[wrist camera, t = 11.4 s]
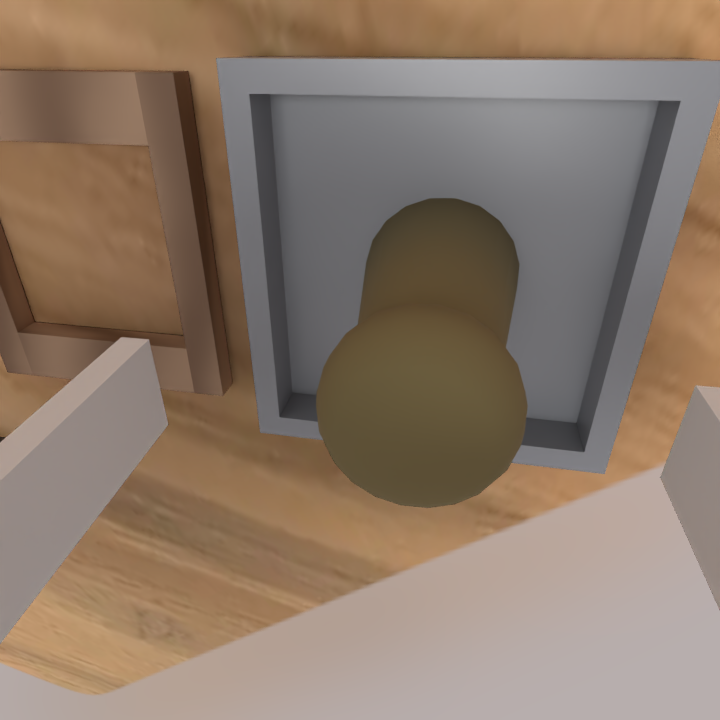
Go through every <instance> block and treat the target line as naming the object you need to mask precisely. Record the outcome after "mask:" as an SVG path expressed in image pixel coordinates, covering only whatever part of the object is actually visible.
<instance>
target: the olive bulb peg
mask: <svg viewBox="0 0 720 720" xmlns="http://www.w3.org/2000/svg"><path fill="white" fill-rule="evenodd" d="M518 274H519V260H518V256H517V252H516V248H515V244H514V241H513V239H512V238H511V236H510V235H509V233H508V232H507V230H506V229H505V228H504V226H503V225H502V223H501V222H500V221H499V220H498V219H497V218H495V217H494V216H493V215H491V214H490V213H489V212H487V211H486V210H485V209H483V208H482V207H481V206H478V205H475V204H472V203H469V202H466V201H463V200H460V199H457V198H429V199H426V200H423V201H420V202H417V203H414V204H411V205H408V206H405V207H404V208H403V209H401V210H400V211H399V212H397V213H396V214H395V215H393V216H392V217H391V218H389V219H388V220H387V221H386V222H385V223H384V224H383V226H382V227H381V229H380V230H379V232H378V233H377V235H376V236H375V237H374V239H373V240H372V244H371V247H370V251H369V254H368V258H367V261H366V268H365V275H364V282H363V290H362V297H361V304H360V312H359V319H358V325H357V326H355V327H354V328H352V329H351V330H350V331H348V332H347V333H346V334H345V335H344V337H343V338H342V339H341V341H340V342H339V343H338V345H337V346H336V347H335V349H334V350H333V351H332V353H331V354H330V356H329V357H328V359H327V361H326V363H325V365H324V367H323V371H322V375H321V378H320V382H319V386H318V389H317V395H316V409H317V418H318V427H319V433H320V435H321V437H322V439H323V441H324V443H325V445H326V447H327V449H328V451H329V453H330V455H331V457H332V459H333V461H334V462H335V464H336V465H337V466H338V467H339V468H340V470H341V471H342V472H343V473H344V474H345V475H346V476H347V477H348V478H349V479H350V480H351V481H352V482H353V483H354V484H356V485H357V486H359V487H361V488H362V489H364V490H365V491H367V492H369V493H370V494H372V495H373V496H375V497H378V498H381V499H384V500H387V501H390V502H393V503H396V504H399V505H404V506H414V507H424V508H431V507H438V506H445V505H453V504H456V503H459V502H461V501H464V500H466V499H468V498H471V497H473V496H476V495H478V494H480V493H481V492H482V491H483V490H484V489H485V488H487V487H488V486H489V485H490V484H491V483H493V482H494V481H495V480H496V479H497V478H498V477H500V476H501V475H502V474H503V473H504V472H505V471H506V470H507V469H508V468H509V466H510V464H511V462H512V461H513V459H514V457H515V455H516V454H517V452H518V450H519V448H520V446H521V443H522V440H523V436H524V433H525V424H526V416H527V408H528V404H527V398H526V392H525V388H524V385H523V381H522V378H521V374H520V370H519V367H518V364H517V363H516V361H515V360H514V358H513V357H512V356H511V354H510V353H509V352H508V350H507V349H506V344H507V339H508V334H509V328H510V323H511V318H512V312H513V307H514V302H515V296H516V291H517V284H518Z"/></svg>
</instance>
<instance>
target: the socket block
mask: <svg viewBox="0 0 720 720" xmlns="http://www.w3.org/2000/svg"><path fill="white" fill-rule="evenodd" d="M0 141H25V142H55V143H85V144H115V145H145V146H148V147H149V153H150V158H151V163H152V169H153V174H154V179H155V185H156V190H157V195H158V201H159V206H160V211H161V217H162V222H163V227H164V233H165V238H166V243H167V249H168V254H169V259H170V265H171V270H172V276H173V281H174V286H175V292H176V297H177V302H178V308H179V313H180V318H181V324H182V329H183V334H184V336H180V335H170V334H159V333H148V332H137V331H127V330H116V329H105V328H94V327H84V326H73V325H62V324H51V323H40V322H34V319H33V317H32V314H31V311H30V308H29V305H28V302H27V299H26V296H25V293H24V290H23V287H22V284H21V281H20V278H19V276H18V273H17V270H16V267H15V264H14V261H13V258H12V255H11V252H10V249H9V246H8V243H7V240H6V237H5V235H4V232H3V229H2V226H1V223H0V354H1V356H2V359H3V362H4V364H5V367H6V369H7V372H9V373H18V374H27V375H37V376H46V377H55V378H64V379H74V378H75V377H76V376H77V375H78V374H80V373H81V372H82V371H83V370H84V369H85V368H86V367H88V366H89V365H90V364H91V363H92V362H93V361H94V360H96V359H97V358H98V357H99V356H100V355H101V354H103V353H104V352H105V351H106V350H107V349H108V348H109V347H111V346H112V345H113V344H114V343H115V342H116V341H117V340H119V339H120V338H121V337H126V338H138V339H149V342H150V347H151V351H152V355H153V360H154V364H155V368H156V373H157V377H158V382H159V386H160V389H163V390H172V391H182V392H191V393H200V394H209V395H218V396H223V395H224V394H225V393H226V391H227V390H228V389H229V387H230V386H231V384H232V376H231V369H230V362H229V355H228V348H227V341H226V334H225V327H224V320H223V313H222V306H221V299H220V292H219V285H218V278H217V271H216V264H215V257H214V250H213V243H212V236H211V229H210V222H209V215H208V208H207V201H206V194H205V187H204V180H203V173H202V166H201V159H200V151H199V144H198V137H197V130H196V123H195V116H194V109H193V102H192V95H191V88H190V81H189V74H188V71H117V70H15V69H0Z"/></svg>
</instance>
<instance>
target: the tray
mask: <svg viewBox="0 0 720 720" xmlns="http://www.w3.org/2000/svg"><path fill="white" fill-rule="evenodd" d="M216 62H217V70H218V79H219V87H220V96H221V104H222V113H223V121H224V130H225V138H226V147H227V155H228V164H229V172H230V181H231V189H232V198H233V206H234V215H235V223H236V232H237V240H238V249H239V257H240V266H241V274H242V283H243V291H244V300H245V308H246V317H247V325H248V334H249V342H250V351H251V359H252V367H253V376H254V384H255V393H256V401H257V410H258V418H259V427H260V433H268V434H277V435H285V436H293V437H301V438H310V439H318V440H323V439H322V437H321V435H320V433H319V427H318V418H317V409H316V395H317V389H318V386H319V382H320V378H321V375H322V371H323V367H324V365H325V363H326V361H327V359H328V357H329V356H330V354H331V353H332V351H333V350H334V349H335V347H336V346H337V345H338V343H339V342H340V341H341V339H342V338H343V337H344V335H345V334H346V333H347V332H348V331H350V330H351V329H352V328H354V327H355V326H357V325H358V319H359V312H360V304H361V297H362V290H363V282H364V275H365V268H366V261H367V258H368V254H369V251H370V247H371V244H372V240H373V239H374V237H375V236H376V235H377V233H378V232H379V230H380V229H381V227H382V226H383V224H384V223H385V222H386V221H387V220H388V219H389V218H391V217H392V216H393V215H395V214H396V213H397V212H399V211H400V210H401V209H403V208H404V207H405V206H408V205H411V204H414V203H417V202H420V201H423V200H426V199H429V198H457V199H460V200H463V201H466V202H469V203H472V204H475V205H478V206H481V207H482V208H483V209H485V210H486V211H487V212H489V213H490V214H491V215H493V216H494V217H495V218H497V219H498V220H499V221H500V222H501V223H502V225H503V226H504V228H505V229H506V230H507V232H508V233H509V235H510V236H511V238H512V239H513V241H514V244H515V248H516V252H517V256H518V260H519V274H518V284H517V291H516V296H515V302H514V307H513V312H512V318H511V323H510V328H509V334H508V339H507V344H506V349H507V350H508V352H509V353H510V354H511V356H512V357H513V358H514V360H515V361H516V363H517V364H518V367H519V370H520V374H521V378H522V381H523V385H524V388H525V392H526V398H527V404H528V408H527V416H526V424H525V433H524V436H523V440H522V443H521V446H520V448H519V450H518V452H517V454H516V455H515V457H514V459H513V461H512V462H511V463H518V464H526V465H534V466H543V467H551V468H559V469H567V470H576V471H584V472H592V473H601V474H605V471H606V468H607V464H608V461H609V458H610V454H611V451H612V448H613V445H614V441H615V438H616V435H617V432H618V428H619V425H620V422H621V419H622V415H623V412H624V409H625V406H626V402H627V399H628V396H629V393H630V389H631V386H632V383H633V380H634V376H635V373H636V370H637V367H638V363H639V360H640V357H641V354H642V350H643V347H644V344H645V340H646V337H647V334H648V331H649V327H650V324H651V321H652V318H653V314H654V311H655V308H656V305H657V301H658V298H659V295H660V292H661V288H662V285H663V282H664V279H665V275H666V272H667V269H668V266H669V262H670V259H671V256H672V253H673V249H674V246H675V243H676V240H677V236H678V233H679V230H680V226H681V223H682V220H683V217H684V213H685V210H686V207H687V204H688V200H689V197H690V194H691V191H692V187H693V184H694V181H695V178H696V174H697V171H698V168H699V165H700V161H701V158H702V155H703V152H704V148H705V145H706V142H707V139H708V135H709V132H710V129H711V125H712V122H713V119H714V116H715V112H716V109H717V106H718V103H719V99H720V60H708V59H694V58H497V57H295V56H246V57H228V58H216Z"/></svg>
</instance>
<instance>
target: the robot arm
mask: <svg viewBox="0 0 720 720" xmlns="http://www.w3.org/2000/svg"><path fill="white" fill-rule="evenodd" d="M167 426H168V421H167V416H166V412H165V408H164V403H163V399H162V395H161V390H160V386H159V382H158V377H157V373H156V368H155V364H154V360H153V355H152V351H151V347H150V342H149V339H138V338H126V337H121V338H120V339H119V340H117V341H116V342H115V343H114V344H113V345H112V346H111V347H109V348H108V349H107V350H106V351H105V352H104V353H103V354H101V355H100V356H99V357H98V358H97V359H96V360H94V361H93V362H92V363H91V364H90V365H89V366H88V367H86V368H85V369H84V370H83V371H82V372H81V373H80V374H78V375H77V376H76V377H75V378H74V379H73V380H71V381H70V382H69V383H68V384H67V385H66V386H65V387H63V388H62V389H61V390H60V391H59V392H58V393H57V394H55V395H54V396H53V397H52V398H51V399H50V400H48V401H47V402H46V403H45V404H44V405H43V406H42V407H40V408H39V409H38V410H37V411H36V412H35V413H34V414H32V415H31V416H30V417H29V418H28V419H27V420H25V421H24V422H23V423H22V424H21V425H20V426H19V427H17V428H16V429H15V430H14V431H13V432H12V433H11V434H9V435H8V436H7V437H6V438H5V437H0V644H1V642H2V641H3V640H4V638H5V637H6V636H7V634H8V633H9V632H10V630H11V629H12V628H13V627H14V625H15V624H16V623H17V621H18V620H19V619H20V617H21V616H22V615H23V614H24V612H25V611H26V610H27V608H28V607H29V606H30V604H31V603H32V602H33V600H34V599H35V598H36V597H37V595H38V594H39V593H40V591H41V590H42V589H43V587H44V586H45V585H46V584H47V582H48V581H49V580H50V578H51V577H52V576H53V574H54V573H55V572H56V570H57V569H58V568H59V567H60V565H61V564H62V563H63V561H64V560H65V559H66V557H67V556H68V555H69V554H70V552H71V551H72V550H73V548H74V547H75V546H76V544H77V543H78V542H79V541H80V539H81V538H82V537H83V535H84V534H85V533H86V531H87V530H88V529H89V527H90V526H91V525H92V524H93V522H94V521H95V520H96V518H97V517H98V516H99V514H100V513H101V512H102V511H103V509H104V508H105V507H106V505H107V504H108V503H109V501H110V500H111V499H112V497H113V496H114V495H115V494H116V492H117V491H118V490H119V488H120V487H121V486H122V484H123V483H124V482H125V481H126V479H127V478H128V477H129V475H130V474H131V473H132V471H133V470H134V469H135V467H136V466H137V465H138V464H139V462H140V461H141V460H142V458H143V457H144V456H145V454H146V453H147V452H148V451H149V449H150V448H151V447H152V445H153V444H154V443H155V441H156V440H157V439H158V438H159V436H160V435H161V434H162V432H163V431H164V430H165V428H166V427H167ZM661 480H662V482H663V485H664V487H665V489H666V491H667V493H668V496H669V498H670V500H671V502H672V505H673V507H674V509H675V511H676V514H677V516H678V518H679V520H680V523H681V525H682V527H683V529H684V532H685V534H686V536H687V538H688V540H689V542H690V545H691V547H692V549H693V552H694V554H695V556H696V558H697V561H698V563H699V565H700V567H701V569H702V572H703V574H704V576H705V578H706V581H707V583H708V585H709V587H710V590H711V591H712V594H713V596H714V598H715V601H716V603H717V605H718V607H719V610H720V387H708V386H695V388H694V391H693V394H692V396H691V399H690V401H689V404H688V407H687V409H686V412H685V414H684V417H683V420H682V422H681V425H680V427H679V430H678V433H677V435H676V438H675V441H674V443H673V446H672V448H671V451H670V454H669V456H668V459H667V461H666V464H665V467H664V469H663V472H662V475H661Z"/></svg>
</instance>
